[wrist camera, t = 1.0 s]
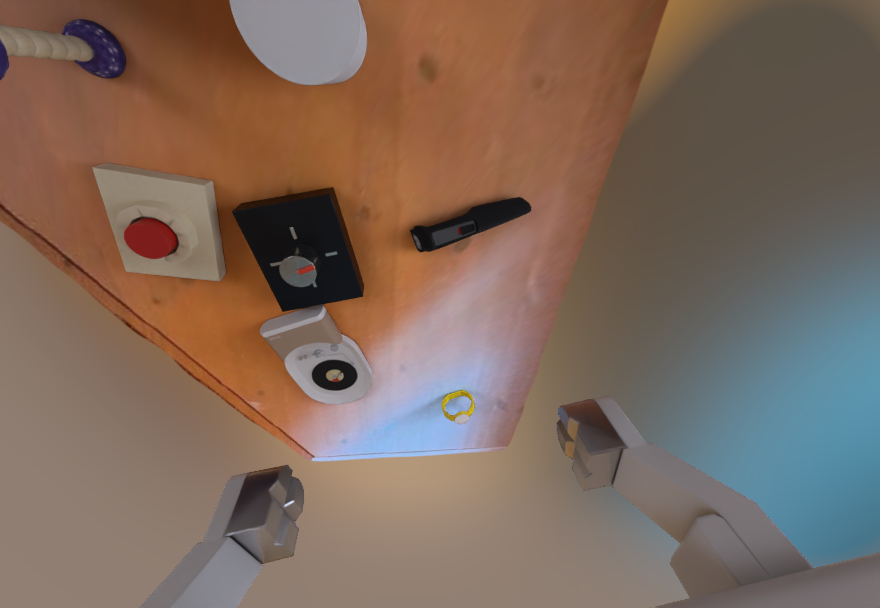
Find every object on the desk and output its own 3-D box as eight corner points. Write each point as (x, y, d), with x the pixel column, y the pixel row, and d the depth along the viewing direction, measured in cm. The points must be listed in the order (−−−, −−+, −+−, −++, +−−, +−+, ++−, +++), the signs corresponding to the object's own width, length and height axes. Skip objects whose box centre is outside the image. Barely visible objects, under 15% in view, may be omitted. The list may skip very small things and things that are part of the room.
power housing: (106, 162, 35) (77, 171, 32) (213, 180, 37) (196, 190, 34) (137, 263, 41) (115, 279, 38) (226, 273, 44) (213, 289, 40)
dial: (298, 277, 42) (291, 292, 39) (279, 250, 40) (271, 264, 37) (327, 266, 42) (322, 281, 39) (310, 239, 39) (304, 252, 36)
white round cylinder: (261, -15, 29) (199, -64, 19) (350, -36, 29) (333, -95, 19) (300, 92, 34) (266, 96, 24) (377, 73, 34) (375, 71, 24)
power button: (129, 215, 35) (118, 221, 33) (173, 221, 36) (164, 227, 34) (139, 249, 37) (129, 256, 35) (180, 254, 38) (172, 261, 36)
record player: (328, 312, 45) (382, 399, 57) (331, 299, 48) (382, 385, 60) (249, 337, 46) (318, 418, 57) (256, 323, 48) (321, 404, 60)
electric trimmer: (524, 214, 45) (533, 222, 43) (417, 251, 46) (419, 261, 43) (520, 188, 43) (530, 194, 40) (408, 226, 43) (410, 235, 41)
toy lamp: (111, 15, 29) (-132, -44, 15) (145, 78, 32) (-35, 76, 18) (55, 24, 29) (-241, -27, 15) (94, 87, 31) (-127, 92, 18)
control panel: (241, 203, 39) (230, 212, 36) (333, 187, 39) (330, 194, 37) (287, 299, 47) (282, 312, 44) (364, 285, 47) (363, 297, 45)
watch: (441, 402, 64) (446, 428, 59) (438, 393, 63) (443, 419, 58) (471, 394, 64) (478, 419, 59) (469, 384, 62) (476, 410, 58)
